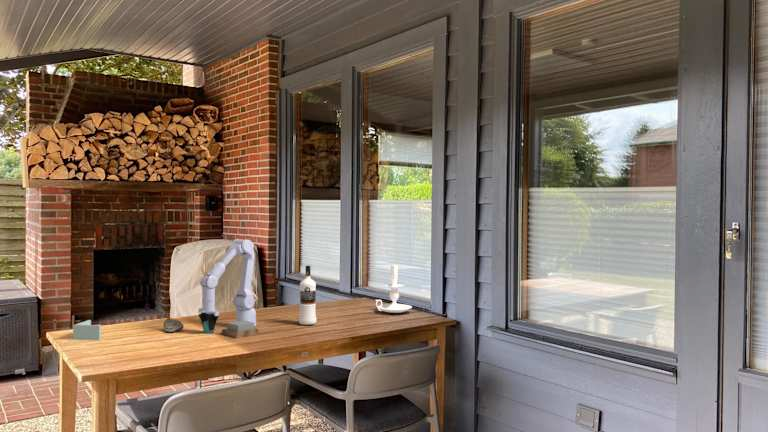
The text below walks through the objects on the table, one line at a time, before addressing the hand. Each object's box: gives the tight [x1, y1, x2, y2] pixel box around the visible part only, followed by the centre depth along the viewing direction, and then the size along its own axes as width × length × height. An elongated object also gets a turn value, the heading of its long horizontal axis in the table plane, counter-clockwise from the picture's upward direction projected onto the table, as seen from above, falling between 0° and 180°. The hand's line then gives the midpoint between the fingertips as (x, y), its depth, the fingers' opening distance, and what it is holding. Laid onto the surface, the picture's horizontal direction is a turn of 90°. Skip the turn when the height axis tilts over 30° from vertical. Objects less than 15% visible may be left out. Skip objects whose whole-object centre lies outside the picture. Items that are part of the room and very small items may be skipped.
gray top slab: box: [226, 320, 255, 332], centre depth 273 cm, size 9×9×3 cm
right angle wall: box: [72, 319, 104, 341], centre depth 261 cm, size 12×12×8 cm
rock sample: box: [163, 317, 185, 333], centre depth 277 cm, size 10×8×9 cm
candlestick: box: [375, 264, 413, 314], centre depth 333 cm, size 21×25×28 cm
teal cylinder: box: [202, 321, 215, 334], centre depth 276 cm, size 5×5×5 cm
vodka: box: [298, 265, 318, 326], centre depth 300 cm, size 9×9×30 cm
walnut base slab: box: [221, 327, 259, 339], centre depth 273 cm, size 12×12×3 cm
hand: (208, 329), depth 276 cm, fingers closed on teal cylinder, 5 cm apart
